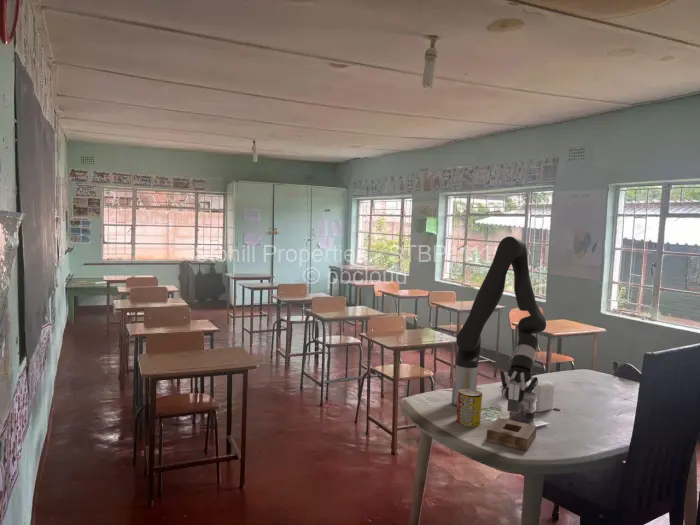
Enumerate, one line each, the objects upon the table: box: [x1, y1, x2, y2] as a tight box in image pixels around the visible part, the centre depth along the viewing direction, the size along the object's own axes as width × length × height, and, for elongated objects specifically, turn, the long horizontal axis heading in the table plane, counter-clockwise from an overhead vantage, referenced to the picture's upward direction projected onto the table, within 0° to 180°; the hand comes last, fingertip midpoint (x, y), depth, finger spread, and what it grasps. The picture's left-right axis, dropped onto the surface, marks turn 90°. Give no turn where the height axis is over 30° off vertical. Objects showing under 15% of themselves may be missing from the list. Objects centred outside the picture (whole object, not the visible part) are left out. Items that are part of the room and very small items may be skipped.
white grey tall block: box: [507, 379, 522, 414], centre depth 189 cm, size 4×4×11 cm
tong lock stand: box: [485, 416, 538, 452], centre depth 190 cm, size 14×15×4 cm
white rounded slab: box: [532, 380, 555, 413], centre depth 223 cm, size 10×4×12 cm, turn 123°
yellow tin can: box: [456, 389, 483, 428], centre depth 204 cm, size 9×9×12 cm
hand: (513, 399), depth 187 cm, fingers closed on white grey tall block, 3 cm apart
